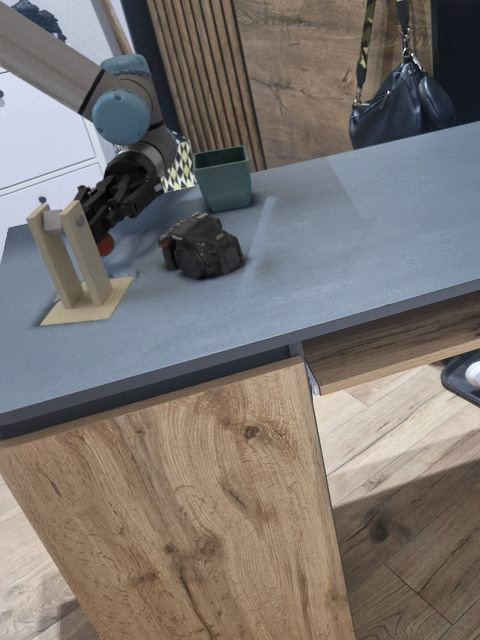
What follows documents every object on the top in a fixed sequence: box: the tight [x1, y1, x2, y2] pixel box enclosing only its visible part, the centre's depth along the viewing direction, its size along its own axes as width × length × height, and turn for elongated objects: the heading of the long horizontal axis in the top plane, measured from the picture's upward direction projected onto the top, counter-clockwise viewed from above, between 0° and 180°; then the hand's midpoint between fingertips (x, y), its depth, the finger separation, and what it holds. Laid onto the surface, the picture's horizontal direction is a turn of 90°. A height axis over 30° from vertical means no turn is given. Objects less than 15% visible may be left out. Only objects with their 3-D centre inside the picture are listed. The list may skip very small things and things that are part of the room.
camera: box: [157, 211, 246, 280], centre depth 87 cm, size 11×8×9 cm
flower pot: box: [192, 144, 252, 213], centre depth 105 cm, size 9×9×9 cm
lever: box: [43, 208, 116, 258], centre depth 84 cm, size 14×4×4 cm
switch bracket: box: [25, 200, 135, 327], centre depth 81 cm, size 11×9×14 cm
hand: (83, 235), depth 84 cm, fingers closed
